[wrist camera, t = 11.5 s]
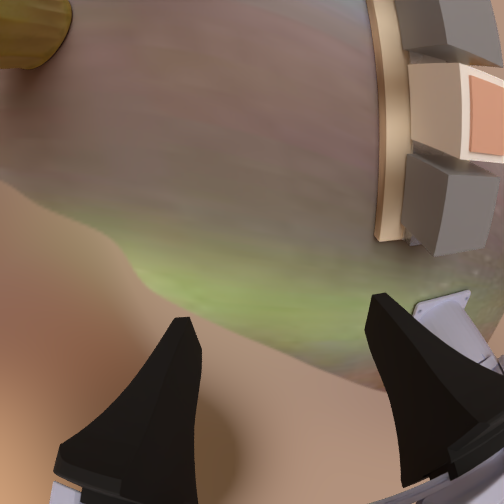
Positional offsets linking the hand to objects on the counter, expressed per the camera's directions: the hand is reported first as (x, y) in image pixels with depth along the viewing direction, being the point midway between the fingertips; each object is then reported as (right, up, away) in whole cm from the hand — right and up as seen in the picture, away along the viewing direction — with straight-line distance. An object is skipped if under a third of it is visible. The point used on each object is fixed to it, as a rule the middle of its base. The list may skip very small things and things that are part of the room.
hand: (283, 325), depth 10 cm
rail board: (+11, +13, +3) cm, 17 cm away
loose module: (+11, +12, +2) cm, 17 cm away
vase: (-16, +19, -1) cm, 25 cm away
